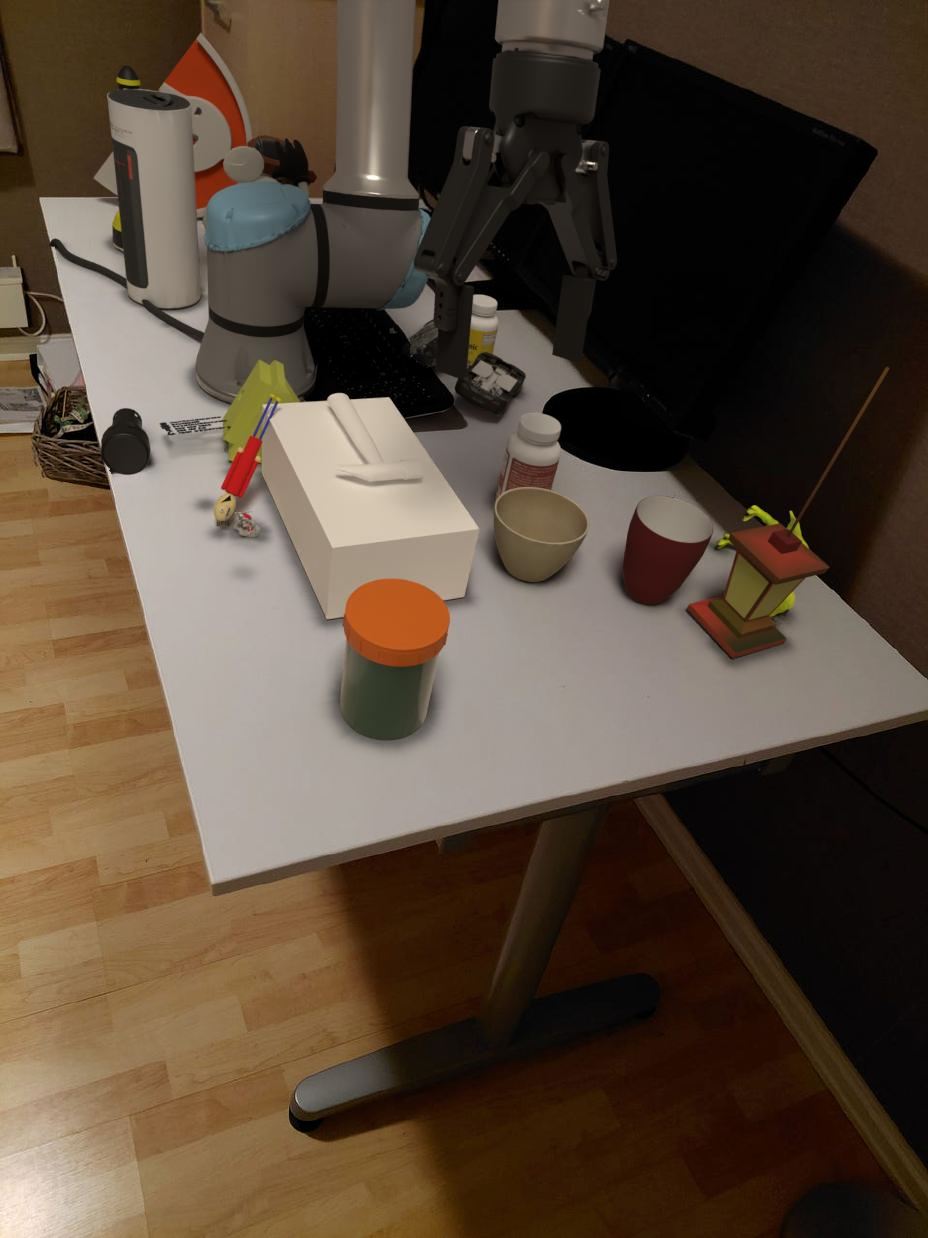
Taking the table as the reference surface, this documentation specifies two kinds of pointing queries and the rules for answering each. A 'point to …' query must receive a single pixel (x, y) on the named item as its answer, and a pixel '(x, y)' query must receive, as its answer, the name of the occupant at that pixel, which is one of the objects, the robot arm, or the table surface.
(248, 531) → the figurine
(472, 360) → the supplement bottle
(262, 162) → the toy
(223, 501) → the figurine
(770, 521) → the dinosaur figurine
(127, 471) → the flashlight
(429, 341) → the rock
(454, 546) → the hammer relief block
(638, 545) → the mug
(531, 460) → the pill bottle
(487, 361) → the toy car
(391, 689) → the jar
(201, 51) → the wall plaque
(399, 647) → the lid
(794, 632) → the table surface
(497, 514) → the flower pot
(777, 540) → the light fixture
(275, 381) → the bracket
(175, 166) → the speaker
